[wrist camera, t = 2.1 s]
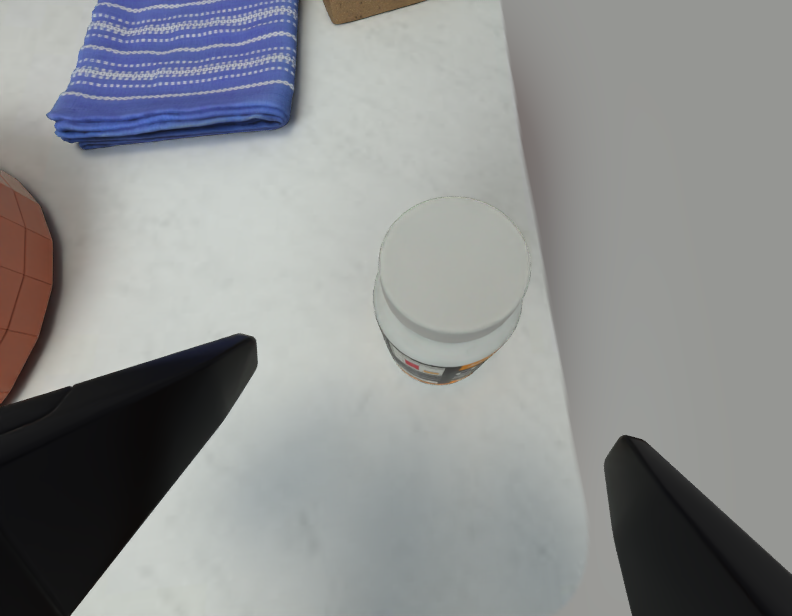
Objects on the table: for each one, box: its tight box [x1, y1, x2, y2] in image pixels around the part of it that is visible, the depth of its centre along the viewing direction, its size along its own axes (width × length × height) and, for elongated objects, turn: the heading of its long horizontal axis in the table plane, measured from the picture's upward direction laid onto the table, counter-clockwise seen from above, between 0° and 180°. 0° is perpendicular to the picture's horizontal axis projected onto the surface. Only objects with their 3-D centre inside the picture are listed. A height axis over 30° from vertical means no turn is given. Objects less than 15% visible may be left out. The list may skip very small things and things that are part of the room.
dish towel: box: [46, 0, 299, 150], centre depth 27 cm, size 17×24×3 cm
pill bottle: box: [373, 197, 531, 385], centre depth 15 cm, size 6×6×10 cm
